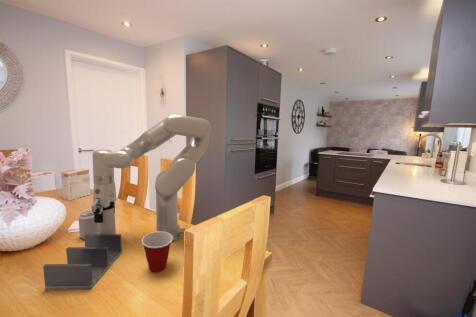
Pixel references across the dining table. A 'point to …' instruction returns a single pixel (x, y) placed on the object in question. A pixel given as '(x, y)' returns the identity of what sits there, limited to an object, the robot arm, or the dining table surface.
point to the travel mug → (107, 220)
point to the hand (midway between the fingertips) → (105, 217)
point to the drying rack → (84, 263)
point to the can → (87, 224)
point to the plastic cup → (157, 249)
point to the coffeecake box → (75, 184)
